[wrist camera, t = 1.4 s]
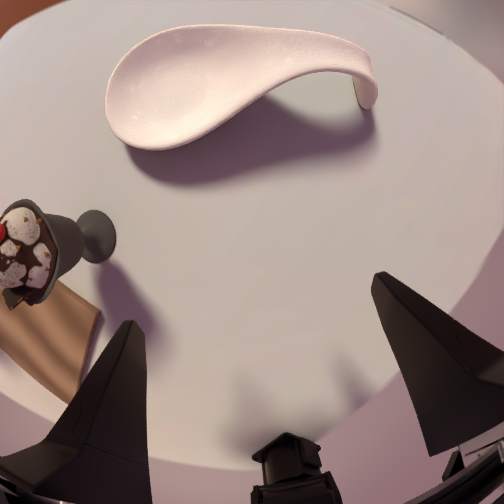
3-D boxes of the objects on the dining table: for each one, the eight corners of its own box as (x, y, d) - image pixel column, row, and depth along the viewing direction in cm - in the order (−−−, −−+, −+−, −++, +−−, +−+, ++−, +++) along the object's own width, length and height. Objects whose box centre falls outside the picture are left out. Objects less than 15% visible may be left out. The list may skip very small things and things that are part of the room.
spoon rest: (120, 170, 22) (79, 157, 14) (120, 64, 20) (91, 30, 13) (374, 142, 22) (417, 124, 15) (349, 43, 20) (376, 6, 13)
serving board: (76, 403, 25) (72, 407, 24) (-5, 335, 23) (-9, 338, 22) (100, 310, 23) (95, 313, 22) (6, 235, 21) (0, 236, 20)
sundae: (94, 185, 21) (-34, 172, 7) (137, 237, 22) (16, 277, 8) (57, 234, 22) (-60, 261, 7) (96, 285, 23) (-13, 353, 8)
